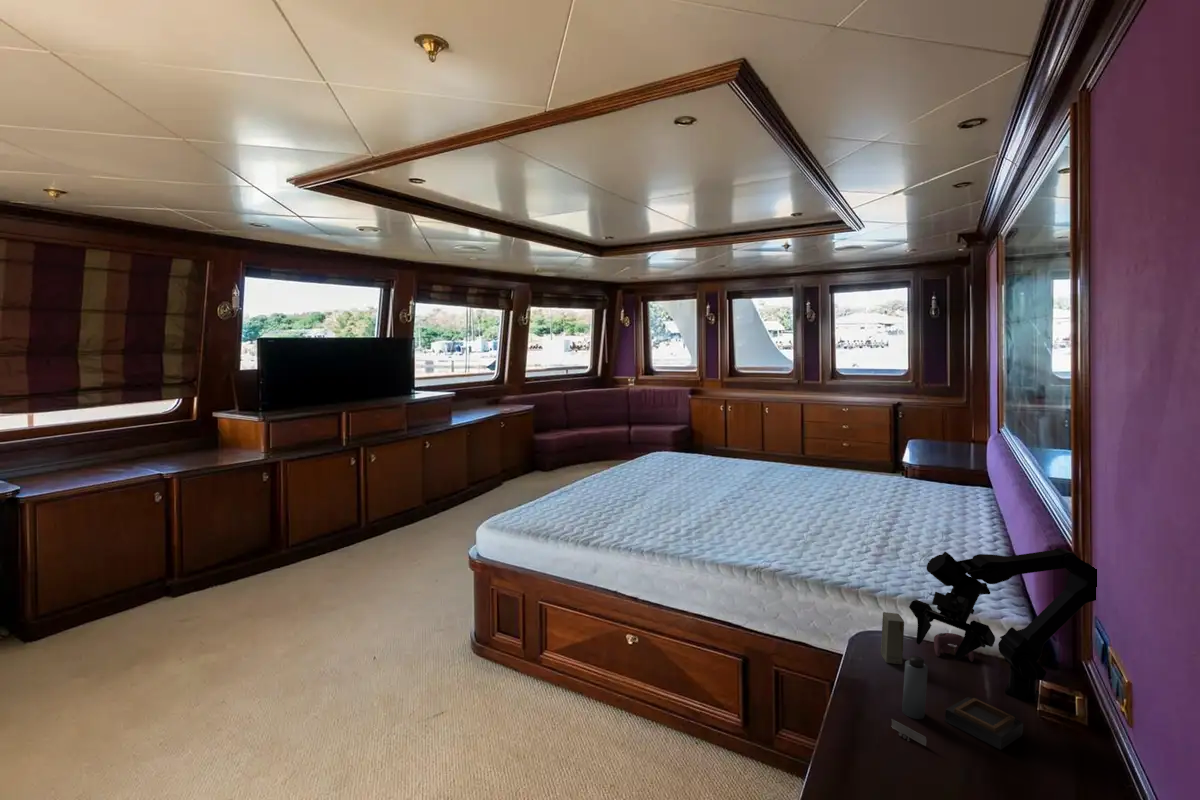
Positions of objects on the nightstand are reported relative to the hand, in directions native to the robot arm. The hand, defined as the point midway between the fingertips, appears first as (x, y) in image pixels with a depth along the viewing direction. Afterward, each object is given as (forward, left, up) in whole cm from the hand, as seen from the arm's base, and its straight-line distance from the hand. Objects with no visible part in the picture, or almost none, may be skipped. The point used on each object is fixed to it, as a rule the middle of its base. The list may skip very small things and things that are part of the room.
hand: (936, 651), depth 150 cm
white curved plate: (+20, -1, -14) cm, 24 cm away
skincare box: (-16, -15, -14) cm, 26 cm away
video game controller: (-31, -3, -14) cm, 34 cm away
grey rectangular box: (+3, +11, -13) cm, 18 cm away
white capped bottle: (+8, -2, -13) cm, 16 cm away
